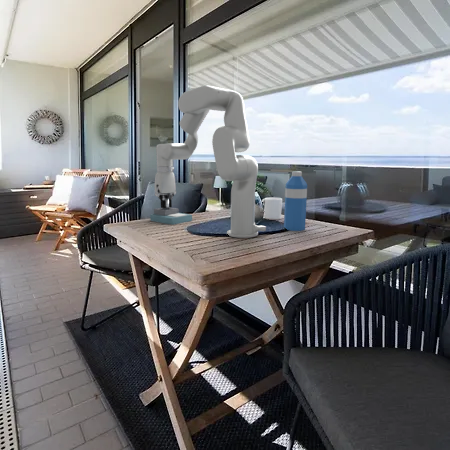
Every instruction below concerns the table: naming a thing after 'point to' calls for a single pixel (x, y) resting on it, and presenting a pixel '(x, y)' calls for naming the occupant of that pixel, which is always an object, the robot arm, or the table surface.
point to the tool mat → (177, 215)
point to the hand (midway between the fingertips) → (166, 207)
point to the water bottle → (295, 202)
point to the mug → (273, 208)
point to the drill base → (163, 216)
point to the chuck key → (167, 201)
